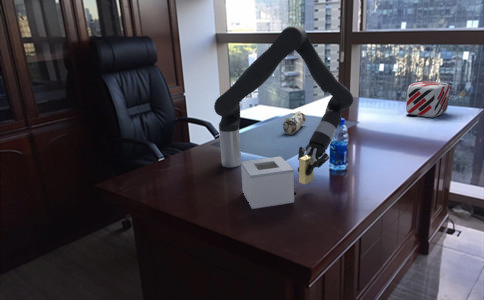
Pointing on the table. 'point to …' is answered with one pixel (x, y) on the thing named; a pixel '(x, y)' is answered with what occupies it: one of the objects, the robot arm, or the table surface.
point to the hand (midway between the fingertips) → (303, 173)
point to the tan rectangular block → (303, 166)
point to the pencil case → (294, 123)
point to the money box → (267, 182)
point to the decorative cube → (427, 98)
